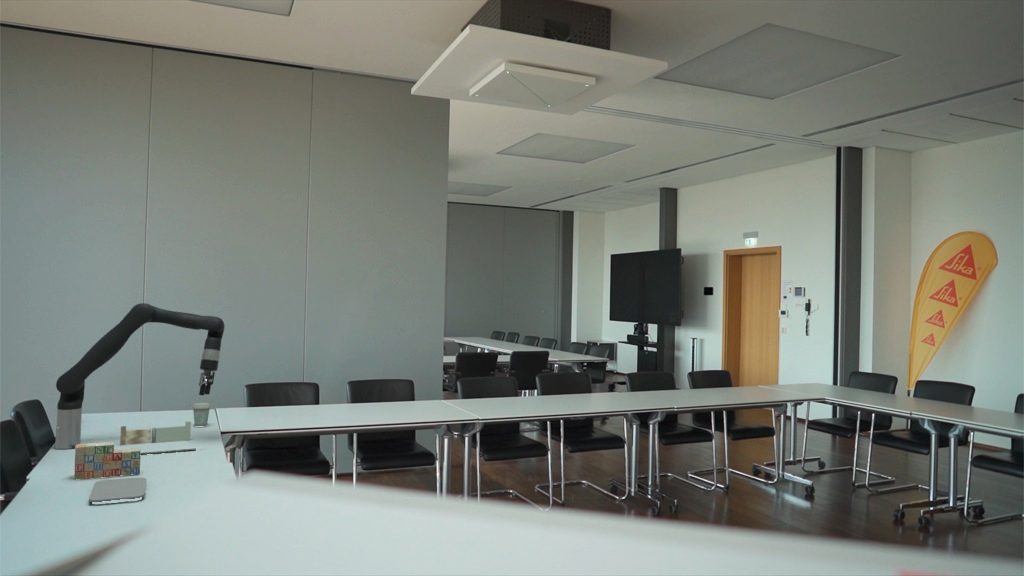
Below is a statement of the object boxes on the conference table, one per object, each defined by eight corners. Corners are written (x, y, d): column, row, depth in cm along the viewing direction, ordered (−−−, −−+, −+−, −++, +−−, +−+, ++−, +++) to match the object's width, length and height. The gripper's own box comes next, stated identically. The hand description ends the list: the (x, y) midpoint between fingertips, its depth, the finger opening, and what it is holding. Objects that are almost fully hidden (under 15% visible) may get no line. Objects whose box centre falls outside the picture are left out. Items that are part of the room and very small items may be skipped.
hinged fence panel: (151, 443, 309) (152, 424, 309) (151, 442, 311) (152, 423, 311) (190, 440, 318) (190, 422, 318) (189, 439, 319) (190, 421, 320)
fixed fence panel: (120, 446, 303) (121, 426, 303) (120, 445, 304) (120, 426, 305) (150, 443, 309) (151, 425, 309) (150, 442, 311) (151, 424, 311)
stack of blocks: (140, 471, 266) (141, 439, 266) (139, 475, 260) (140, 443, 261) (75, 476, 256) (76, 443, 256) (73, 480, 250) (75, 447, 251)
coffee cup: (188, 426, 355) (189, 404, 356) (201, 424, 363) (202, 402, 363) (200, 428, 352) (201, 405, 352) (213, 426, 360) (214, 403, 360)
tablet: (87, 507, 221) (88, 500, 221) (95, 487, 244) (95, 480, 244) (144, 502, 228) (144, 495, 228) (146, 483, 251) (146, 476, 251)
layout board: (118, 457, 286) (118, 454, 286) (116, 444, 309) (116, 442, 309) (195, 451, 302) (196, 448, 302) (188, 439, 325) (188, 437, 325)
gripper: (197, 360, 319) (191, 394, 315) (205, 357, 308) (199, 393, 304) (214, 362, 323) (208, 396, 319) (223, 359, 313) (217, 394, 308)
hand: (204, 394), depth 311 cm, fingers open, 8 cm apart
